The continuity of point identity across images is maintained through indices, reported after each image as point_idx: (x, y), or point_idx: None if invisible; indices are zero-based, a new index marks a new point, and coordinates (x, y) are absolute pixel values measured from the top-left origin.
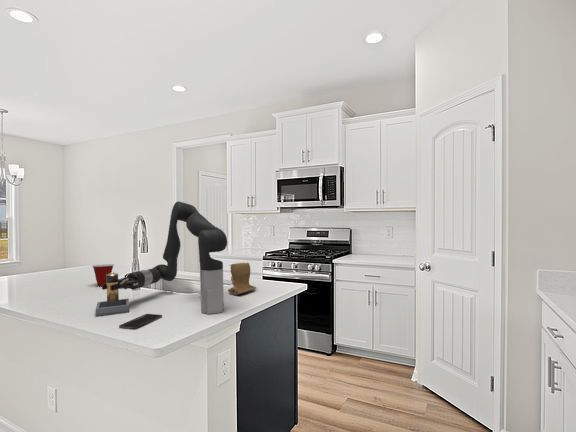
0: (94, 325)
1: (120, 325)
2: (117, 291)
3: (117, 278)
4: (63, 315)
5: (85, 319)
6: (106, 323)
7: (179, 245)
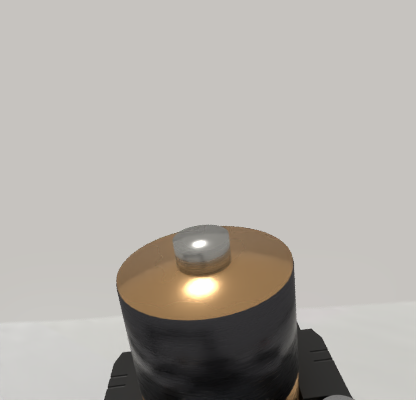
0: (99, 347)
1: None
2: None
3: (132, 352)
4: (411, 346)
5: None
6: (58, 382)
7: None
